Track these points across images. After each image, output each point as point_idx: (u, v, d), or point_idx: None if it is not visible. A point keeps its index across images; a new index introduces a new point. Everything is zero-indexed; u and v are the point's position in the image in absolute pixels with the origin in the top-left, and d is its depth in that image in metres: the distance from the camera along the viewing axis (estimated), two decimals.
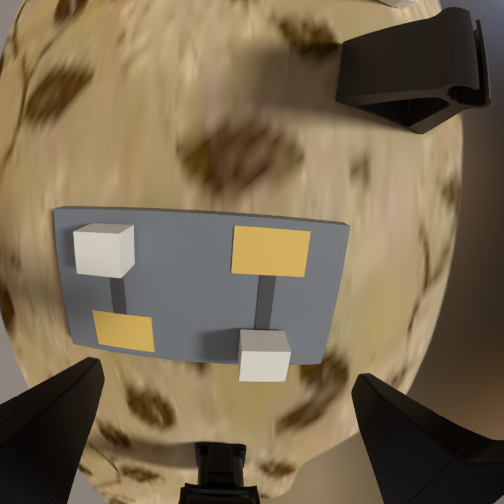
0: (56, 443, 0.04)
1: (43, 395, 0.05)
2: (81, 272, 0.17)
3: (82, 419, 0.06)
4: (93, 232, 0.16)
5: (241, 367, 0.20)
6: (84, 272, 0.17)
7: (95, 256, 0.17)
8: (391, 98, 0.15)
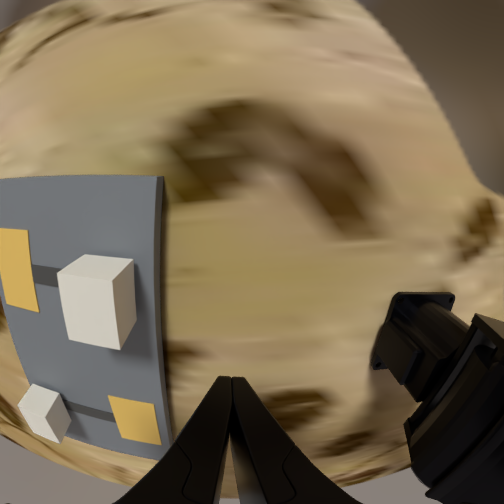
0: (221, 478, 0.05)
1: (201, 431, 0.05)
2: (57, 440, 0.14)
3: (227, 444, 0.06)
4: None
5: (94, 343, 0.11)
6: (56, 438, 0.14)
7: (40, 426, 0.13)
8: None
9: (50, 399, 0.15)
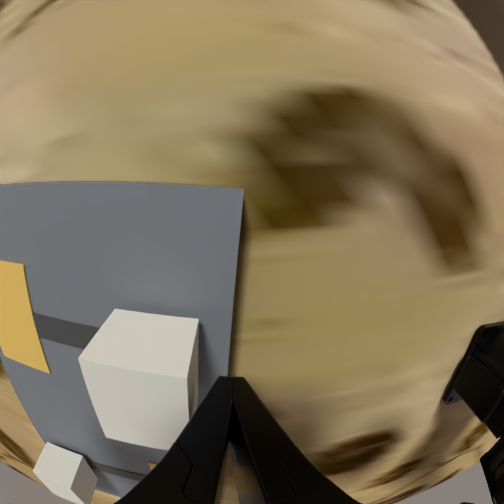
0: (221, 478, 0.05)
1: (202, 431, 0.05)
2: None
3: (228, 444, 0.06)
4: (45, 483, 0.09)
5: (148, 446, 0.07)
6: None
7: (62, 492, 0.09)
8: None
9: (72, 464, 0.10)
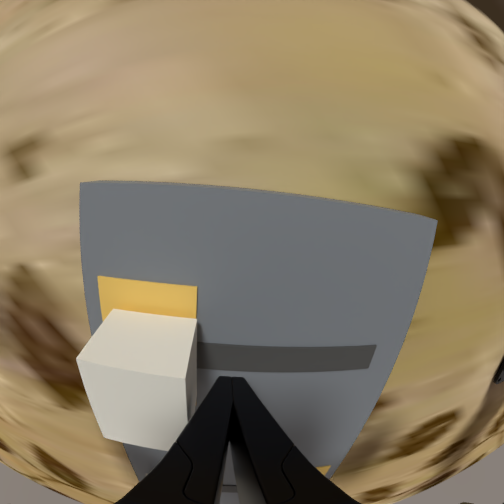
0: (221, 478, 0.05)
1: (202, 431, 0.05)
2: None
3: (228, 443, 0.06)
4: None
5: (146, 446, 0.07)
6: None
7: None
8: None
9: None
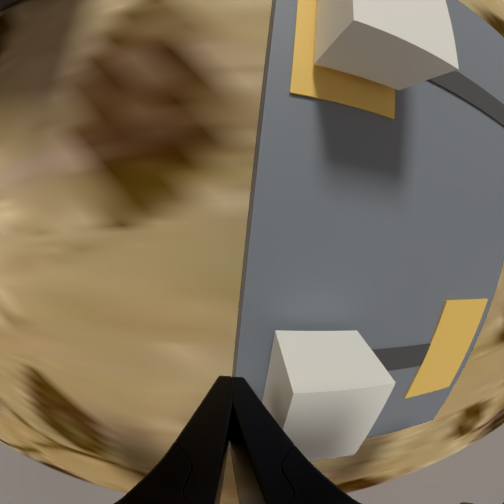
0: (221, 478, 0.05)
1: (202, 431, 0.05)
2: (356, 449, 0.07)
3: None
4: None
5: (415, 42, 0.04)
6: (358, 444, 0.07)
7: (333, 432, 0.07)
8: None
9: (357, 346, 0.08)
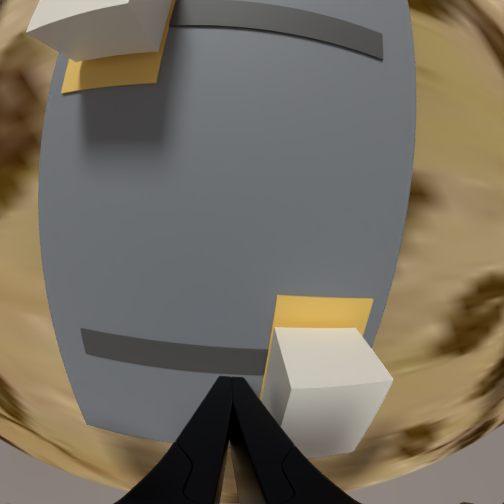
0: (221, 478, 0.05)
1: (202, 431, 0.05)
2: (354, 446, 0.07)
3: (228, 444, 0.06)
4: None
5: (73, 13, 0.03)
6: (356, 442, 0.07)
7: (331, 428, 0.07)
8: None
9: (356, 343, 0.08)
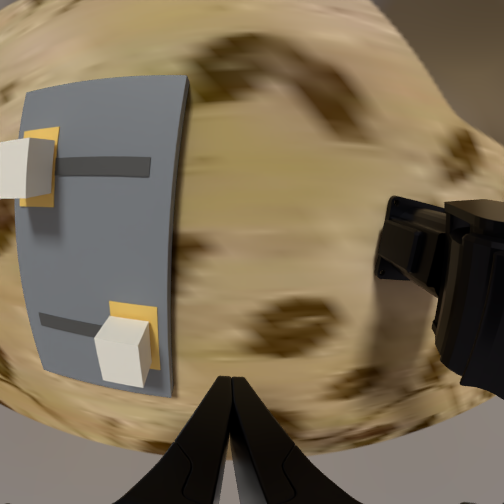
0: (221, 478, 0.05)
1: (201, 431, 0.05)
2: (140, 383, 0.16)
3: (227, 444, 0.06)
4: (99, 361, 0.15)
5: (10, 197, 0.12)
6: (140, 380, 0.16)
7: (120, 365, 0.15)
8: None
9: (139, 328, 0.17)
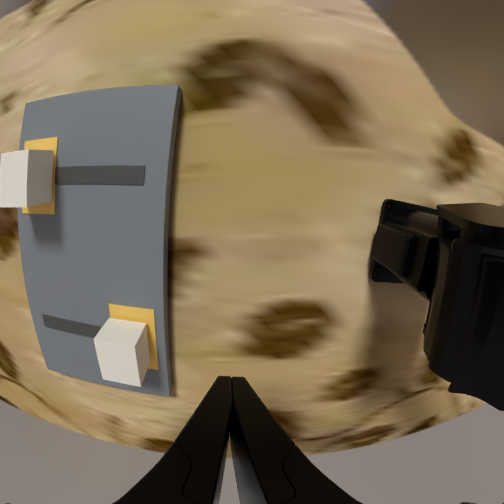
0: (221, 478, 0.05)
1: (201, 431, 0.05)
2: (138, 382, 0.17)
3: (227, 444, 0.06)
4: None
5: (12, 206, 0.13)
6: (137, 379, 0.16)
7: (119, 365, 0.16)
8: None
9: (136, 329, 0.18)
